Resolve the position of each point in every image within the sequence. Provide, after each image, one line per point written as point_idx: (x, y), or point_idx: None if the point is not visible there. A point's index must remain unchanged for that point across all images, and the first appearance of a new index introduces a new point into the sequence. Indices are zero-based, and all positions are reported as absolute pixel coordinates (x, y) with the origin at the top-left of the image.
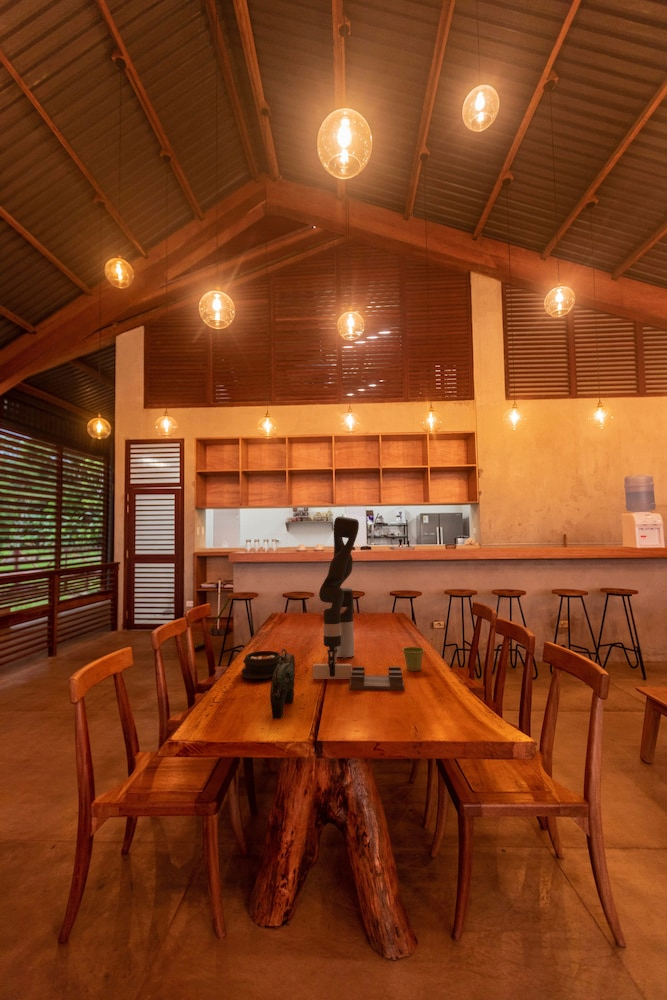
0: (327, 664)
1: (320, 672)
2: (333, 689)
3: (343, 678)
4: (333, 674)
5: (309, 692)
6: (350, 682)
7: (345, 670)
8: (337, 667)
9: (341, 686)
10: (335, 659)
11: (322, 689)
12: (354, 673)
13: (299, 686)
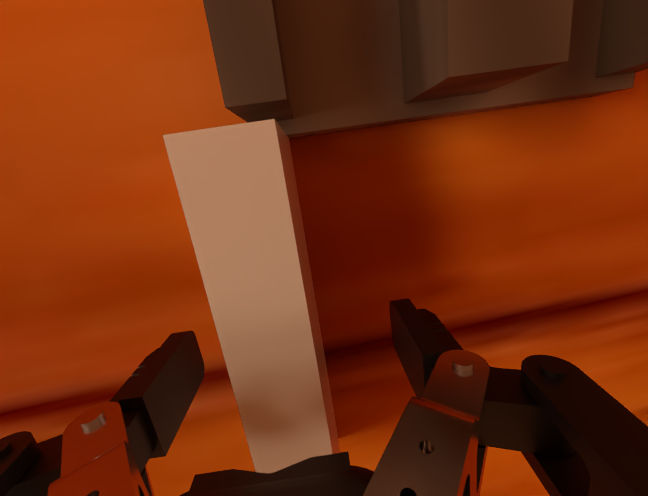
0: (288, 463)
1: (335, 443)
2: (566, 245)
3: (301, 218)
4: (432, 316)
5: (614, 387)
6: (520, 101)
7: (294, 209)
8: (311, 323)
9: (493, 195)
10: (475, 441)
11: (560, 324)
12: (562, 11)
13: (490, 471)
